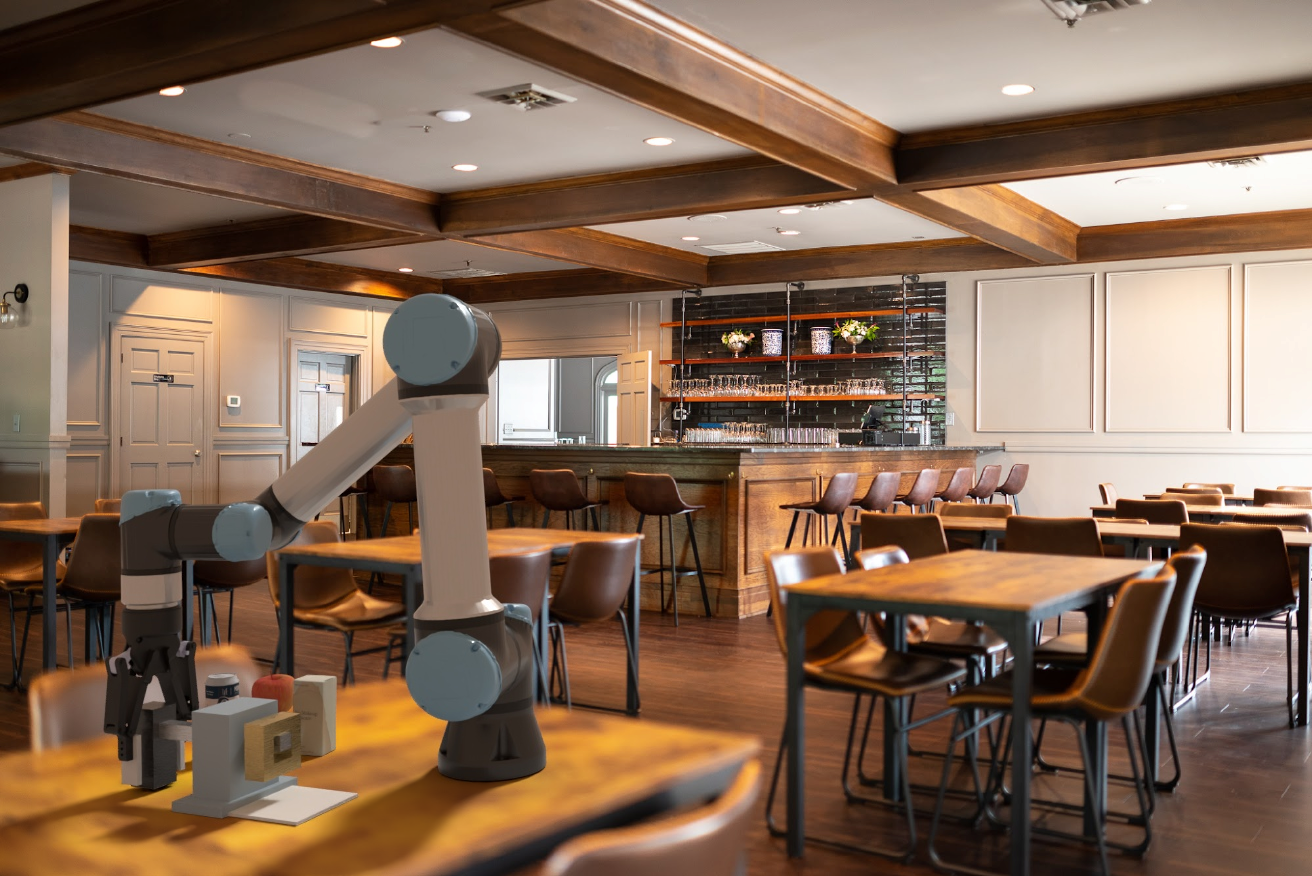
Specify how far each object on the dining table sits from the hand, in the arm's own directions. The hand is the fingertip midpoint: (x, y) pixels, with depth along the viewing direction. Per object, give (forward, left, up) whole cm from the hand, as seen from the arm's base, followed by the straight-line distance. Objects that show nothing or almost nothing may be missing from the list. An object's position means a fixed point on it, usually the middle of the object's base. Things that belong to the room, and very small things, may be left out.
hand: (153, 776), depth 156 cm
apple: (+12, -38, -2) cm, 40 cm away
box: (-9, -22, -2) cm, 24 cm away
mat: (-23, 0, -2) cm, 23 cm away
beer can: (+2, -15, -2) cm, 15 cm away
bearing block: (-14, 0, -2) cm, 14 cm away
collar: (-20, 0, +6) cm, 21 cm away
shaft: (-10, 0, -1) cm, 10 cm away
